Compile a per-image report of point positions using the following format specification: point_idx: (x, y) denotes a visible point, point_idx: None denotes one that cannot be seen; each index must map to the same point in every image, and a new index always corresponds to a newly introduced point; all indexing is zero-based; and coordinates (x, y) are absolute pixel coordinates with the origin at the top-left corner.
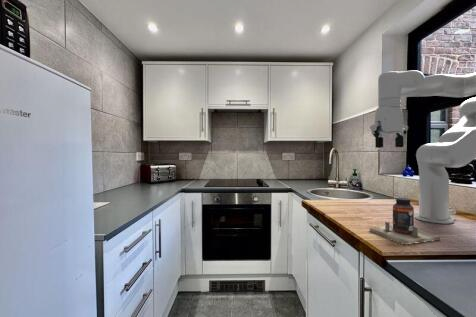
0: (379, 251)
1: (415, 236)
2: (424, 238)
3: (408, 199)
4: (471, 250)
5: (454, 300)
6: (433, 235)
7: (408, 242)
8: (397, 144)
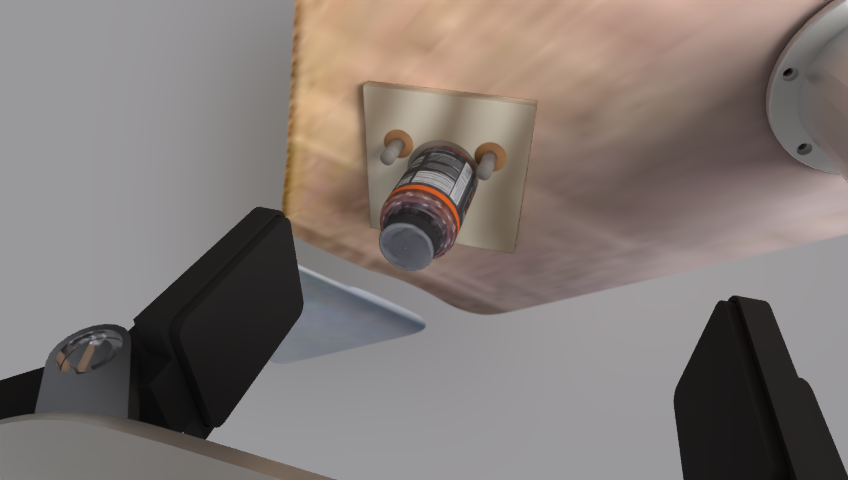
0: None
1: None
2: None
3: (409, 269)
4: (510, 311)
5: (276, 351)
6: (507, 239)
7: None
8: (712, 370)
